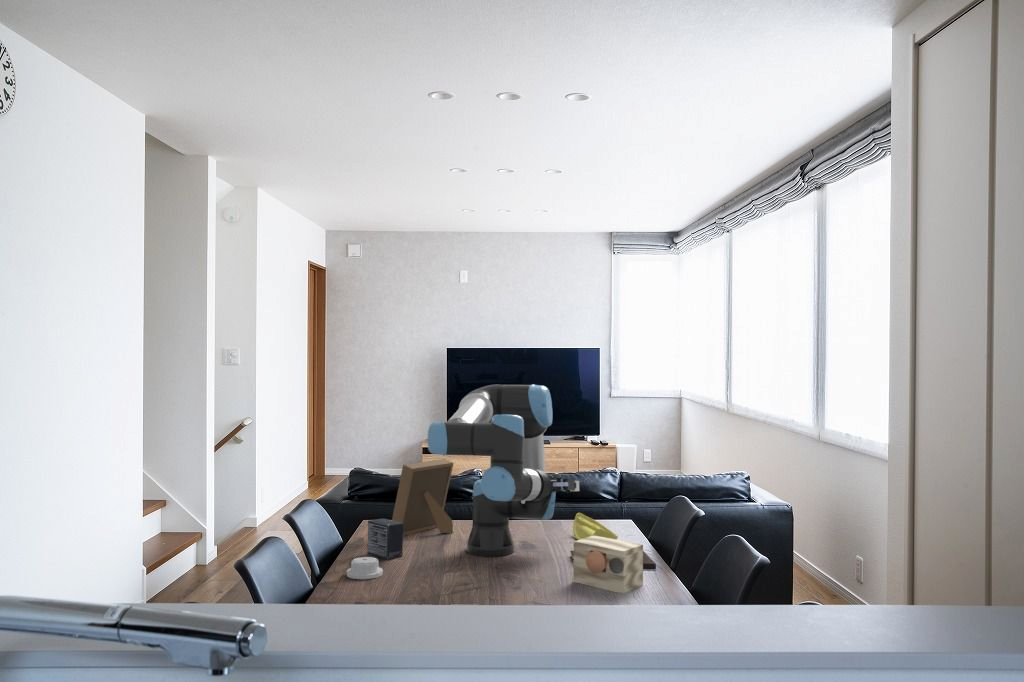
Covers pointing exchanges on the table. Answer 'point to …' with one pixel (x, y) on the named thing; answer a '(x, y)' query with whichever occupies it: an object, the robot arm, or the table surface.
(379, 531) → the small box
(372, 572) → the mechanical component
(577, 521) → the plastic component
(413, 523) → the photo frame
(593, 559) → the plug
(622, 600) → the table surface
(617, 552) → the socket block
